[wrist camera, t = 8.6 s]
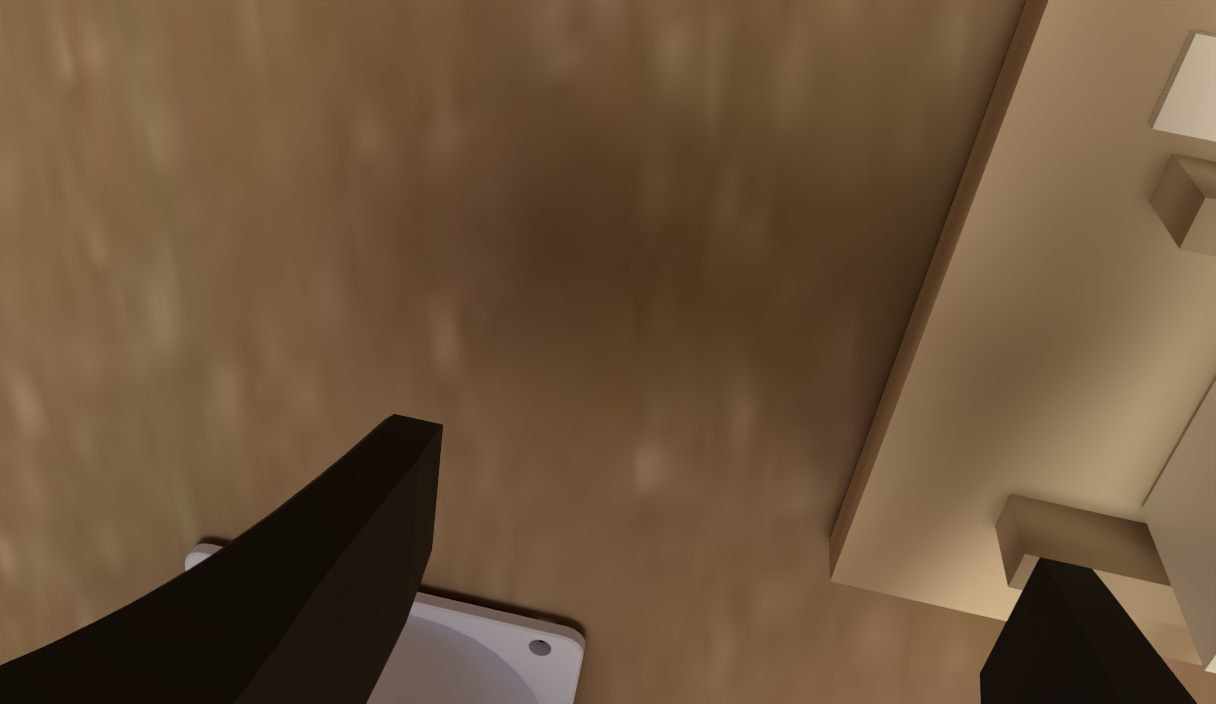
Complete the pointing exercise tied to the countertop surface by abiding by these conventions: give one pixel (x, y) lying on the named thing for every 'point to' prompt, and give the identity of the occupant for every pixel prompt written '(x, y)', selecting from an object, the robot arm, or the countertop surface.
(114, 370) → the countertop surface
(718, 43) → the countertop surface
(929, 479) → the linear slide rail
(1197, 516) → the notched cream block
